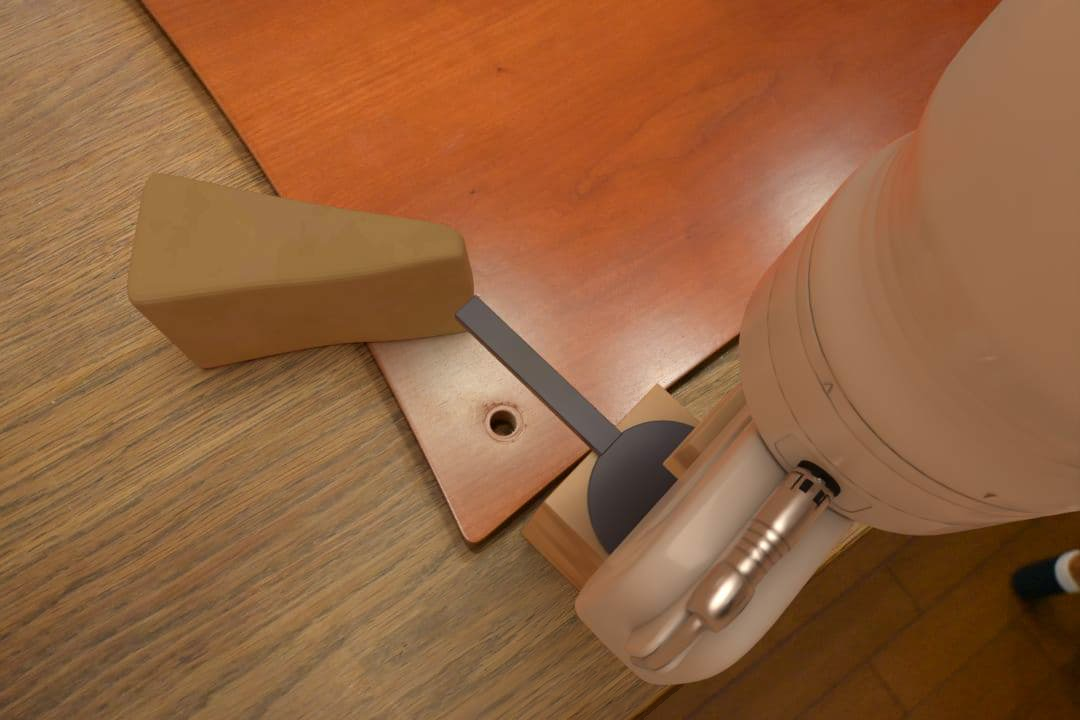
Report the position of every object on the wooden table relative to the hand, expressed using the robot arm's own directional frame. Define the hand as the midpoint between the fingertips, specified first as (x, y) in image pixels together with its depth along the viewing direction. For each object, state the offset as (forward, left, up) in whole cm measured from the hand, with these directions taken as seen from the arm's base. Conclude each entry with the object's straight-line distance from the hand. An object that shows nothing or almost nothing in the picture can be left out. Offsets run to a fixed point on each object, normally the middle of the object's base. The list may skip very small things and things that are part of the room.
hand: (742, 458), depth 33 cm
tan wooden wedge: (+28, +3, -31) cm, 42 cm away
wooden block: (0, 0, -1) cm, 1 cm away
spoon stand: (+6, 0, -31) cm, 31 cm away
